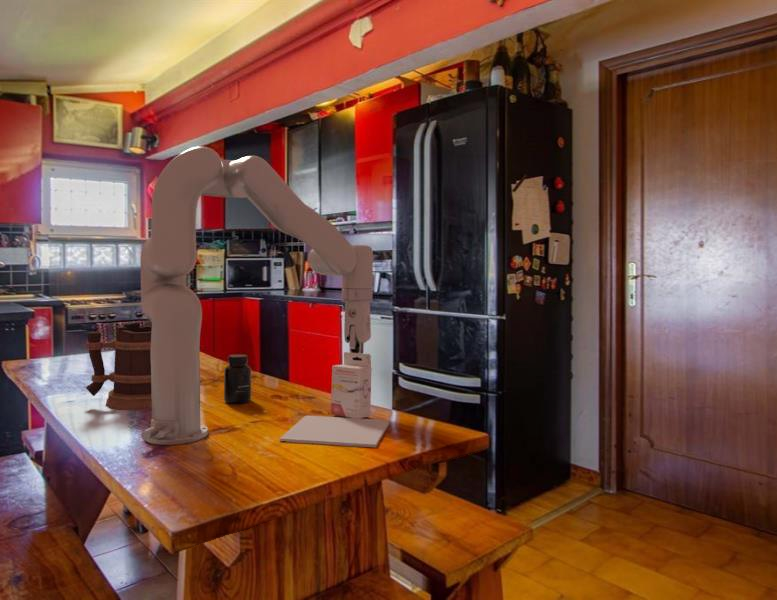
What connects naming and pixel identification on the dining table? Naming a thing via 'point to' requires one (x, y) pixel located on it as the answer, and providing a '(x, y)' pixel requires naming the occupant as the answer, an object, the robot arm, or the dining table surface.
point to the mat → (337, 431)
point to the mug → (124, 367)
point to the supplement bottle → (237, 380)
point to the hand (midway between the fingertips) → (356, 369)
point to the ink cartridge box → (352, 386)
